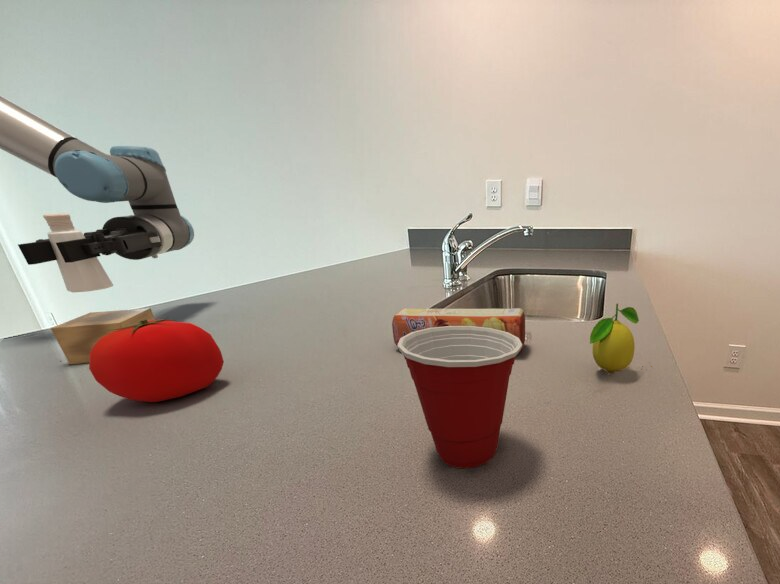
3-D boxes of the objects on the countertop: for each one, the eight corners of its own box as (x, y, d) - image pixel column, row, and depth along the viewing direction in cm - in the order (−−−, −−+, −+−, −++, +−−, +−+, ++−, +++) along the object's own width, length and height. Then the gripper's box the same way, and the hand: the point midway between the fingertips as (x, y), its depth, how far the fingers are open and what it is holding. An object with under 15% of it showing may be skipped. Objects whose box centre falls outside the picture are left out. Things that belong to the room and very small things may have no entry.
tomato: (235, 393, 54) (208, 317, 49) (106, 425, 47) (61, 341, 42) (226, 367, 62) (202, 300, 57) (116, 391, 55) (79, 317, 50)
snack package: (392, 352, 66) (385, 311, 63) (409, 339, 72) (403, 301, 69) (521, 359, 62) (521, 316, 59) (528, 344, 68) (527, 304, 65)
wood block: (69, 364, 64) (50, 328, 61) (105, 345, 72) (89, 312, 69) (136, 358, 66) (119, 322, 63) (164, 340, 74) (150, 308, 71)
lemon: (633, 365, 59) (641, 297, 55) (638, 383, 54) (648, 309, 49) (586, 364, 60) (591, 296, 55) (587, 381, 55) (592, 308, 50)
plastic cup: (546, 451, 40) (548, 336, 35) (455, 503, 34) (441, 372, 29) (479, 412, 48) (473, 312, 42) (395, 449, 41) (375, 336, 36)
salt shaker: (57, 292, 62) (17, 215, 58) (94, 284, 67) (61, 212, 62) (87, 292, 62) (49, 214, 57) (122, 285, 66) (90, 212, 62)
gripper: (195, 254, 81) (126, 276, 60) (95, 260, 77) (-13, 285, 57) (180, 213, 78) (103, 222, 57) (76, 217, 74) (-47, 227, 54)
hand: (45, 253), depth 57 cm, fingers closed on salt shaker, 4 cm apart
